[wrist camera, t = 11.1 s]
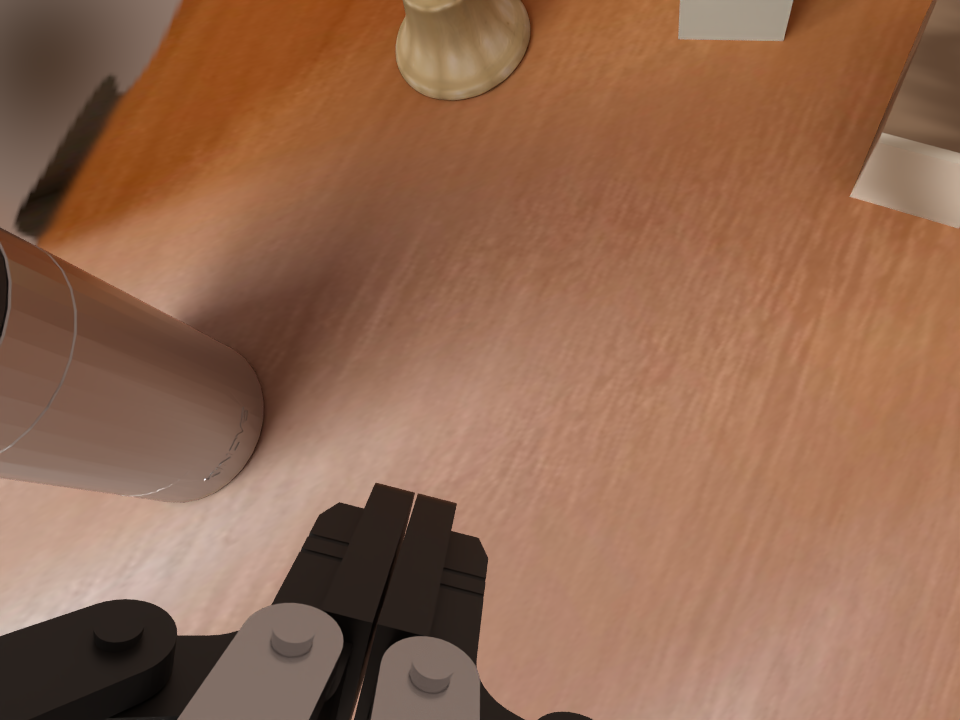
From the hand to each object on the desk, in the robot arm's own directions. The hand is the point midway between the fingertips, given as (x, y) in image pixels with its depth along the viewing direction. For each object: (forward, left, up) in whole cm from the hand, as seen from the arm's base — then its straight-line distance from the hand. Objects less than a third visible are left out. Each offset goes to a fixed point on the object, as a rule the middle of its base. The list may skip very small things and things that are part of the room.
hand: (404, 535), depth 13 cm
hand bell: (-18, +25, -24) cm, 39 cm away
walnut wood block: (+8, +22, -21) cm, 32 cm away
